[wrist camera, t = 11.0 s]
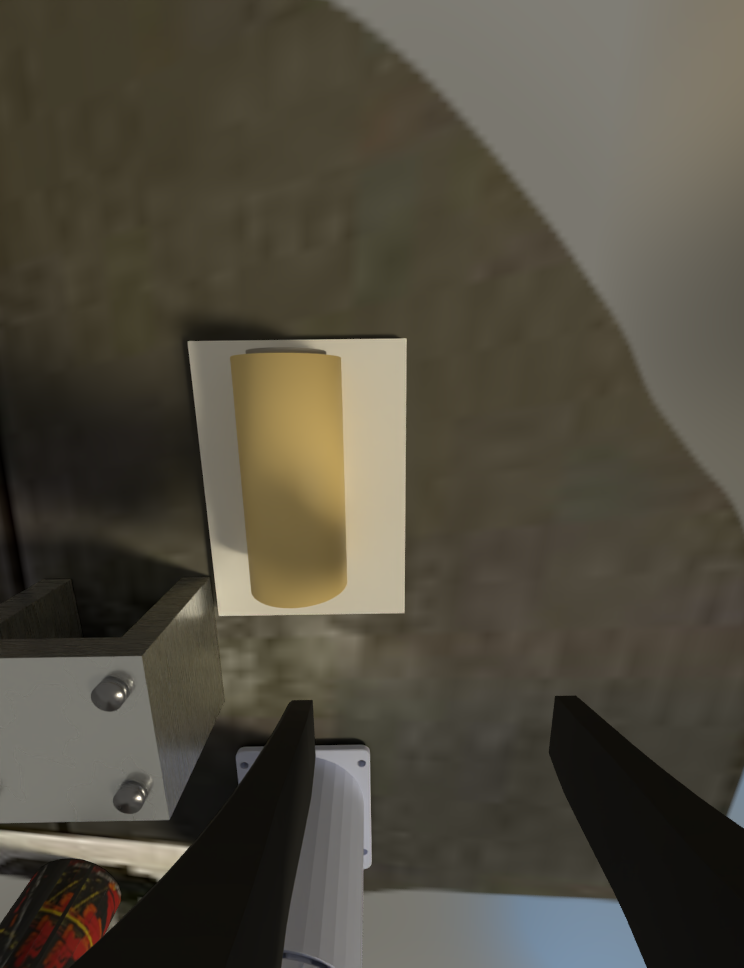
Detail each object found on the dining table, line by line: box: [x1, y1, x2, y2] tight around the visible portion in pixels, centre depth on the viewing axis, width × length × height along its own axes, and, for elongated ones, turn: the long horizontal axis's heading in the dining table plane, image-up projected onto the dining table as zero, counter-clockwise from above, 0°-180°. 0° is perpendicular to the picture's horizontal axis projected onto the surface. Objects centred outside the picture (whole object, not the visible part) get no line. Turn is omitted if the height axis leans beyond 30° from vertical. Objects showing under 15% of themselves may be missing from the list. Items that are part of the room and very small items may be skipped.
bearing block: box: [0, 577, 225, 823], centre depth 19 cm, size 8×9×7 cm
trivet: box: [188, 338, 406, 616], centre depth 20 cm, size 14×10×1 cm
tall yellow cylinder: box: [230, 347, 347, 608], centre depth 17 cm, size 10×4×4 cm, turn 1°
